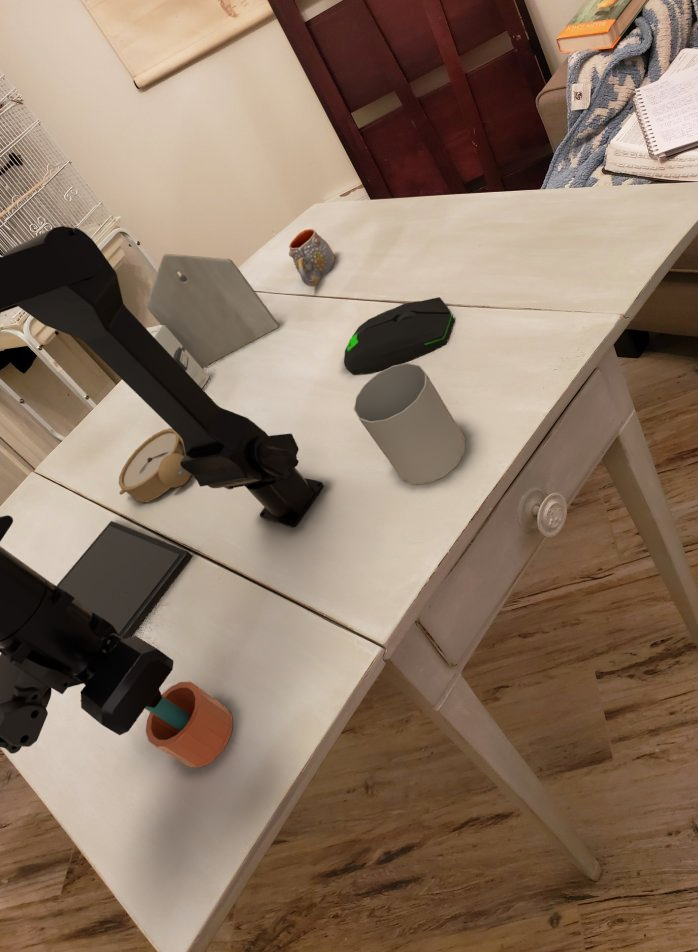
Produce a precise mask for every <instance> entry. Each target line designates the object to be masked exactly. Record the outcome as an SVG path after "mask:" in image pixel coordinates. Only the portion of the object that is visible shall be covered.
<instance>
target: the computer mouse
mask: <svg viewBox="0 0 698 952" xmlns="http://www.w3.org/2000/svg"><path fill="white" fill-rule="evenodd" d="M454 324H455V317H454V315H453V314H452V312H451V310H450V309H449V308H448V306H447V304H445V302H444V301H443V299H442V298H441V297H440V296H438V297H433V298H428V299H424V300H418V301H412V302H406V303H403V304H400V305H398V306H396V307H394V308H391V309H388V310H386V311H384V312H381V313H378V314H376V315H375V316H373V317H371V318H368V319H367V320H365V322H363V323H362V324H360V325H359V326H358V327H357V329H356V330H355V331H354V333H353V334H352V336H351V338H350V339H349V341H348V342H347V345H346V347H345V349H344V356H343V364H344V368H345V370H347V371H348V372H349V373H350V374H351V375H353V376H360V375H370V374H373V373H380V372H382V371H384V370H386V369H388V368H390V367H392V366H395V365H400V364H405V363H409V362H410V361H413V360H415V359H418V358H420V357H422V356H424V355H427V354H430V353H431V352H434V351H435V350H438V349H440V348H441V347H444V346H446V345H447V344H448V342H449V339H450V336H451V333H452V330H453V327H454Z"/></svg>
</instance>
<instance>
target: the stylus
mask: <svg viewBox="0 0 698 952" xmlns="http://www.w3.org/2000/svg"><path fill="white" fill-rule="evenodd" d="M144 710H146V711H147V712H149V713H150V712H151V713H153V714H154V715H156V716H157V717H159V718H160V719H162V720H163V721H165V722H167V723H168V724H170V725H171V726H173V727H174V728H176V729H178V730H181V729H184V727H185V726H186V725H187V723H188V722H189V720H190V716H189V714H188V713H187V712H185V711H184V710H182V709H181V708H179V707H178V706H176V705H175V704H173V703H172V702H170V701H169V700H167V699H166V698H164V697H163V696H162V699H161V700H160V702H159V703H158V705H157V706H156V707H155V708H151V707H147V706H146V708H145V709H144Z"/></svg>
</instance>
